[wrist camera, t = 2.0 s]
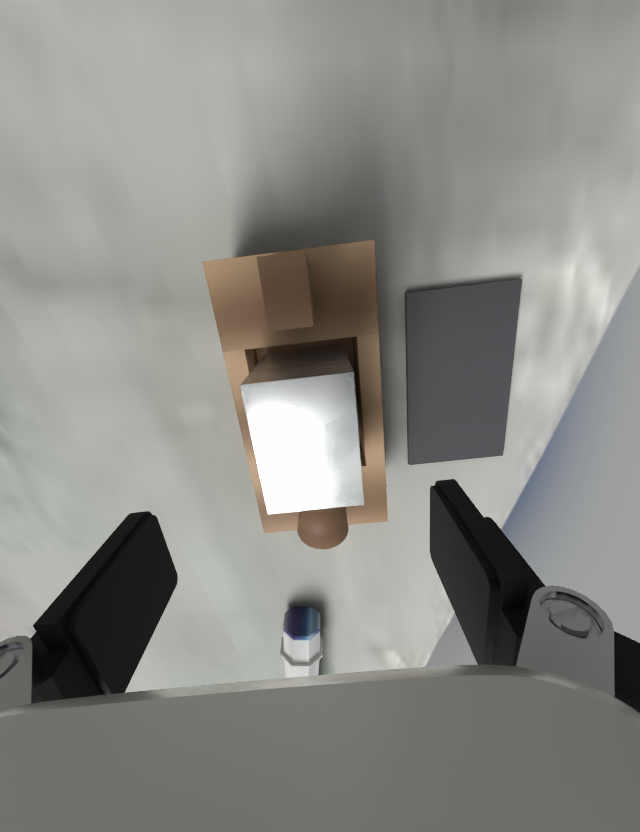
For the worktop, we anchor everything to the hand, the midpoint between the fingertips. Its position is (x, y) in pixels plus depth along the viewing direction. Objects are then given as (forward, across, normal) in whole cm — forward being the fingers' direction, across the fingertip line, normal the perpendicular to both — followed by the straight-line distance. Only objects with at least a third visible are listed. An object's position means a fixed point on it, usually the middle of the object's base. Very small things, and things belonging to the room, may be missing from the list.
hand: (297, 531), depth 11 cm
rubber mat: (+16, -12, 0) cm, 20 cm away
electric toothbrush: (+17, +5, +36) cm, 40 cm away
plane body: (+16, 0, -1) cm, 16 cm away
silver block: (+13, 0, -1) cm, 13 cm away
